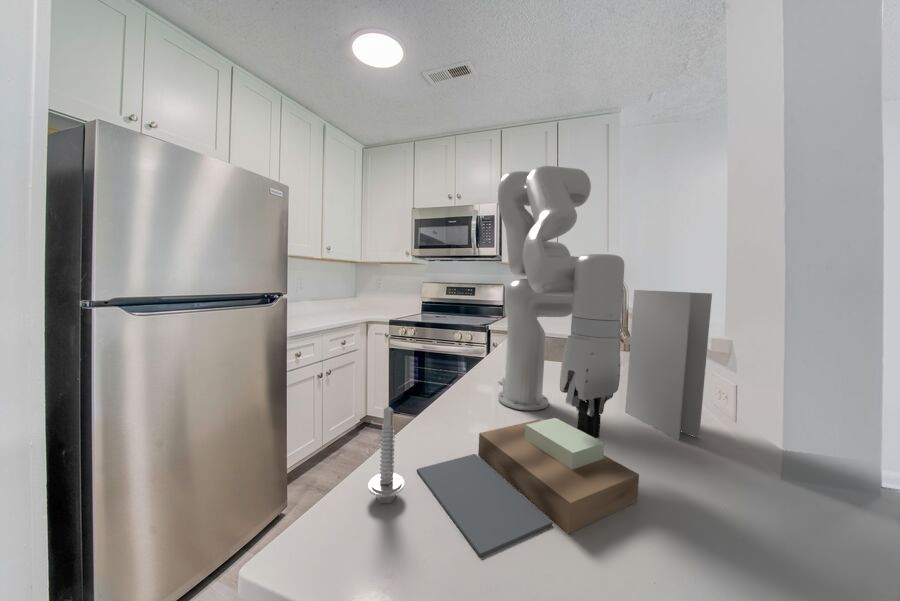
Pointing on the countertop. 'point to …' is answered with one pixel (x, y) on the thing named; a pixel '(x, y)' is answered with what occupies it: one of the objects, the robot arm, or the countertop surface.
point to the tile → (564, 442)
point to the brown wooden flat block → (559, 479)
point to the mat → (482, 503)
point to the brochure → (668, 359)
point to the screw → (387, 465)
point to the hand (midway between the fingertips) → (587, 435)
